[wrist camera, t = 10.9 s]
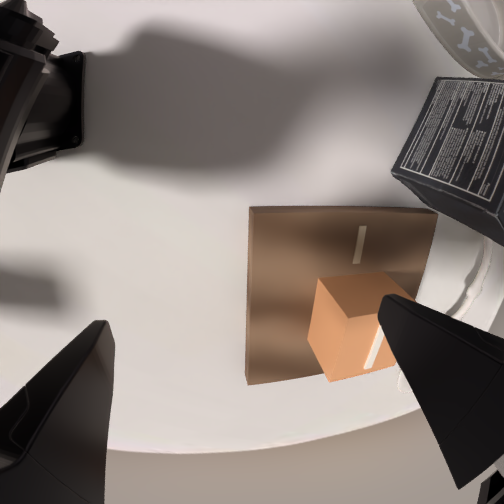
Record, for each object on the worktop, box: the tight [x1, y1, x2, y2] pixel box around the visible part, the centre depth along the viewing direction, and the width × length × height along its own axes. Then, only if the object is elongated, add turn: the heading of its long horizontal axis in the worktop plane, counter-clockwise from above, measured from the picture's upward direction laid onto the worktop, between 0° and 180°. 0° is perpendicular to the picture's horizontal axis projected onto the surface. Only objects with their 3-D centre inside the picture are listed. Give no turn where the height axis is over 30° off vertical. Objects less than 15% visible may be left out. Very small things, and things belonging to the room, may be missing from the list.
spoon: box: [397, 236, 493, 393], centre depth 27 cm, size 9×32×4 cm, turn 170°
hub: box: [307, 272, 417, 382], centre depth 21 cm, size 6×6×5 cm
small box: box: [391, 77, 504, 247], centre depth 15 cm, size 11×6×10 cm, turn 152°
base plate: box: [245, 206, 438, 385], centre depth 22 cm, size 16×16×4 cm
